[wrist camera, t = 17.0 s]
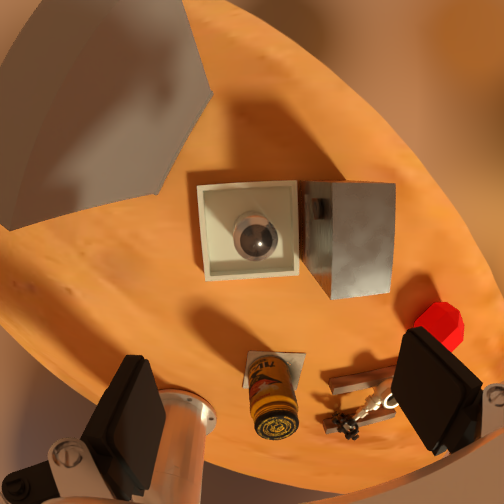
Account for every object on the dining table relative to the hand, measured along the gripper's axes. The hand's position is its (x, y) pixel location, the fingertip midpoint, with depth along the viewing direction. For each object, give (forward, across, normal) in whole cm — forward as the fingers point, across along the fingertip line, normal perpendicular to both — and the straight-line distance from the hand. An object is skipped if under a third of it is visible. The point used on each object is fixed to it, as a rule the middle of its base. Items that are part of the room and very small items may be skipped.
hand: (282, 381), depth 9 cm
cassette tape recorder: (+26, +10, -14) cm, 31 cm away
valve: (+26, -18, +29) cm, 44 cm away
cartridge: (+26, 0, -1) cm, 26 cm away
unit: (+26, -9, -1) cm, 28 cm away
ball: (+26, -28, +16) cm, 42 cm away
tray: (+26, 0, -1) cm, 26 cm away
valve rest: (+26, -18, +30) cm, 44 cm away
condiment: (+27, -2, +21) cm, 34 cm away
